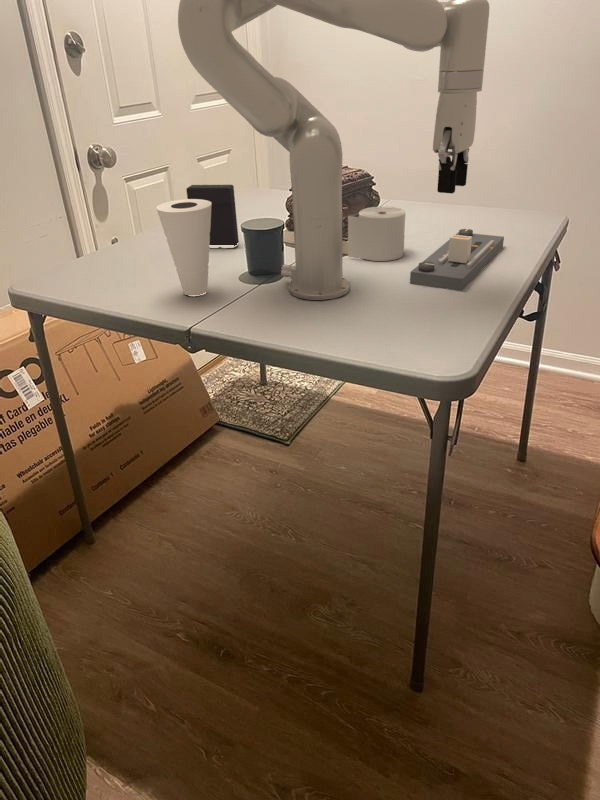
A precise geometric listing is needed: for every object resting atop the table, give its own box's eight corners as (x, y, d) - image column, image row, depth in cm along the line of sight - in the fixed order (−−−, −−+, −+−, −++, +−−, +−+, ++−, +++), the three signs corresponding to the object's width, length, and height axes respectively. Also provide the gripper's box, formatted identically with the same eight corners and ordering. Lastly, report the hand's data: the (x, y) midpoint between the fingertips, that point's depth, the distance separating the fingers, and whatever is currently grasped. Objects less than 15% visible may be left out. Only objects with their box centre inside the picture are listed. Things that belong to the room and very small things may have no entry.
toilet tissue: (412, 253, 147) (414, 210, 142) (383, 266, 140) (384, 221, 135) (376, 245, 154) (376, 204, 149) (345, 258, 146) (345, 215, 141)
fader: (447, 261, 132) (449, 237, 130) (451, 257, 134) (453, 234, 132) (466, 263, 131) (468, 239, 128) (469, 259, 133) (472, 236, 130)
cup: (231, 291, 130) (222, 203, 121) (190, 306, 124) (177, 214, 114) (200, 280, 137) (189, 196, 127) (160, 294, 130) (145, 207, 121)
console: (409, 283, 130) (410, 265, 128) (457, 242, 153) (459, 226, 151) (461, 290, 125) (463, 272, 123) (502, 247, 148) (504, 231, 146)
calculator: (239, 244, 159) (234, 183, 152) (235, 249, 156) (229, 187, 148) (199, 243, 161) (191, 184, 154) (193, 248, 158) (185, 187, 150)
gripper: (454, 78, 116) (447, 178, 126) (422, 86, 104) (416, 197, 113) (495, 78, 113) (484, 181, 122) (466, 86, 100) (456, 200, 109)
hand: (451, 188), depth 117 cm, fingers open, 5 cm apart
